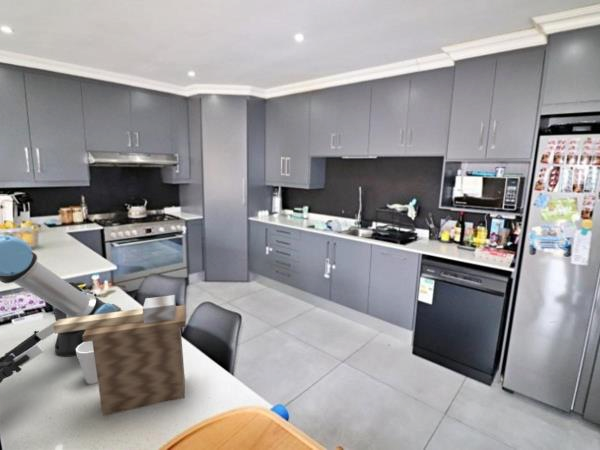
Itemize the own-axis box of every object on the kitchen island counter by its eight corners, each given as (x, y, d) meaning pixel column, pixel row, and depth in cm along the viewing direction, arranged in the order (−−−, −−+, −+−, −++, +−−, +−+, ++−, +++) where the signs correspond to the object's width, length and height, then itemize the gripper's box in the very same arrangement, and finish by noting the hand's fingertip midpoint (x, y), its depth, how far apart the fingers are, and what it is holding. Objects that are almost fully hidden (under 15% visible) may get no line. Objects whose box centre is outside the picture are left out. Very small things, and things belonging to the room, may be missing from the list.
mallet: (52, 337, 93) (49, 321, 92) (62, 323, 101) (59, 308, 100) (175, 319, 104) (173, 304, 103) (175, 308, 111) (174, 294, 110)
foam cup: (78, 389, 112) (73, 356, 109) (82, 374, 120) (77, 342, 117) (110, 381, 116) (106, 348, 114) (111, 366, 124) (107, 336, 122)
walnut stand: (94, 419, 99) (82, 335, 94) (103, 393, 111) (93, 317, 105) (190, 398, 108) (185, 320, 103) (190, 375, 119) (185, 304, 114)
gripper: (12, 363, 105) (73, 324, 109) (-38, 421, 82) (41, 369, 86) (-6, 347, 103) (57, 307, 106) (-64, 402, 80) (20, 349, 83)
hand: (50, 335), depth 96 cm, fingers open, 13 cm apart
